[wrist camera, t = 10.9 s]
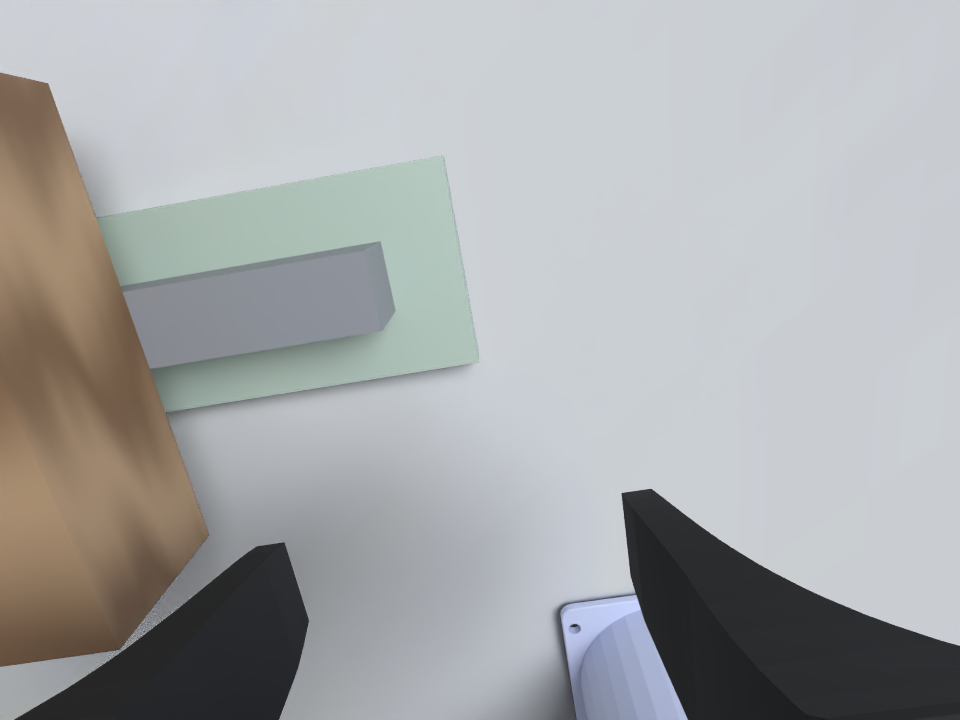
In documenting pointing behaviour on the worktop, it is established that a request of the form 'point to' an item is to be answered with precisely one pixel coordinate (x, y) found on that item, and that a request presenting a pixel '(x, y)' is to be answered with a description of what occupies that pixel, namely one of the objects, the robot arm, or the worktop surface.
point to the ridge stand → (296, 285)
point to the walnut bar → (74, 415)
